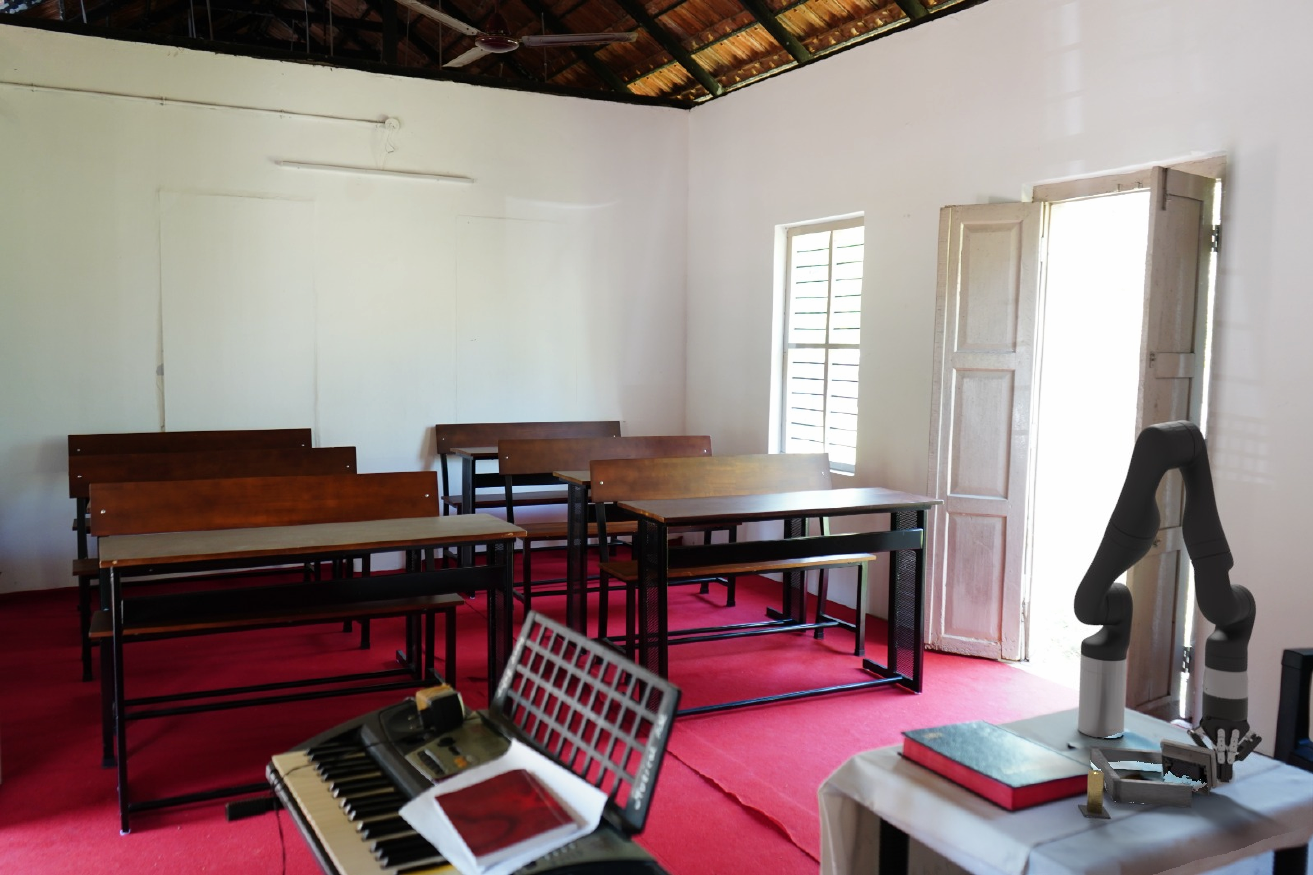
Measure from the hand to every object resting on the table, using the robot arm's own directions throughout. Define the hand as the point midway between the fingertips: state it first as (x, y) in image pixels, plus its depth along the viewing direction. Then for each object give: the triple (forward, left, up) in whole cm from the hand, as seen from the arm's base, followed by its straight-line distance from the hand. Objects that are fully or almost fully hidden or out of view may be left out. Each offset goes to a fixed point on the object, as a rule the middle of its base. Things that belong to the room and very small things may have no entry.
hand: (1222, 781), depth 190 cm
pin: (+14, -26, -2) cm, 30 cm away
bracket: (0, -14, -2) cm, 15 cm away
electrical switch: (0, -6, -2) cm, 6 cm away
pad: (+14, -26, -2) cm, 30 cm away
